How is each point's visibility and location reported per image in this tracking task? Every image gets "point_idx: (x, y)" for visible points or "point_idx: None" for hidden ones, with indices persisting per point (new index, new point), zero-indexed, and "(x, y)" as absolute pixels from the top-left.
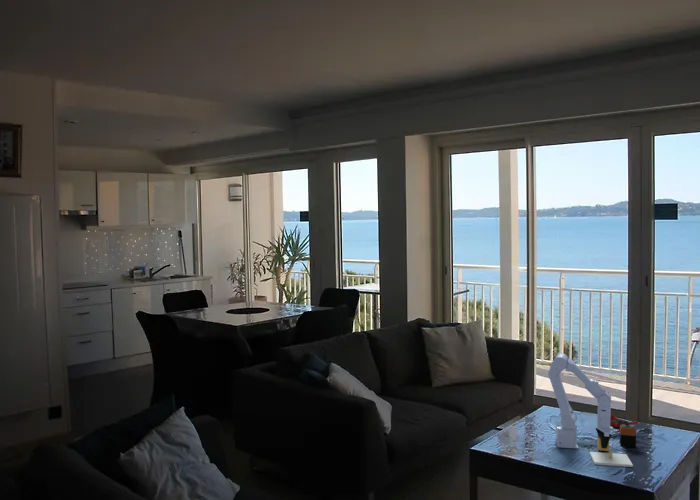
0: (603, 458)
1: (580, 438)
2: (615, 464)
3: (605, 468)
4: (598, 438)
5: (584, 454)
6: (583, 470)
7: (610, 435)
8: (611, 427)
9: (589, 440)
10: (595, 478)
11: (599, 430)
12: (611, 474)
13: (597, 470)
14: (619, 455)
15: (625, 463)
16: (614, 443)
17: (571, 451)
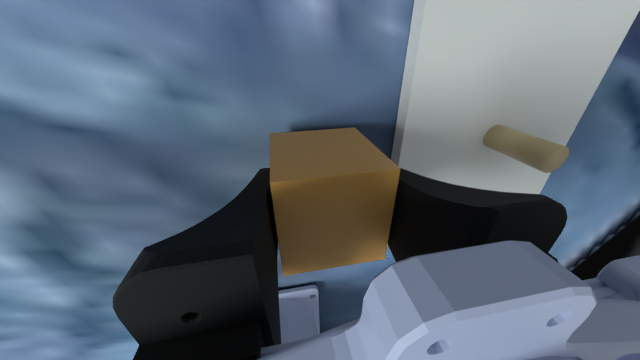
0: (489, 181)
1: (104, 285)
2: (573, 115)
3: (569, 173)
4: (342, 265)
5: (388, 256)
6: (549, 253)
7: (560, 222)
8: (517, 336)
9: (111, 237)
10: (628, 217)
11: (276, 342)
12: (637, 152)
13: (571, 208)
14: (459, 49)
15: (612, 35)
16: (29, 5)
17: (354, 300)
